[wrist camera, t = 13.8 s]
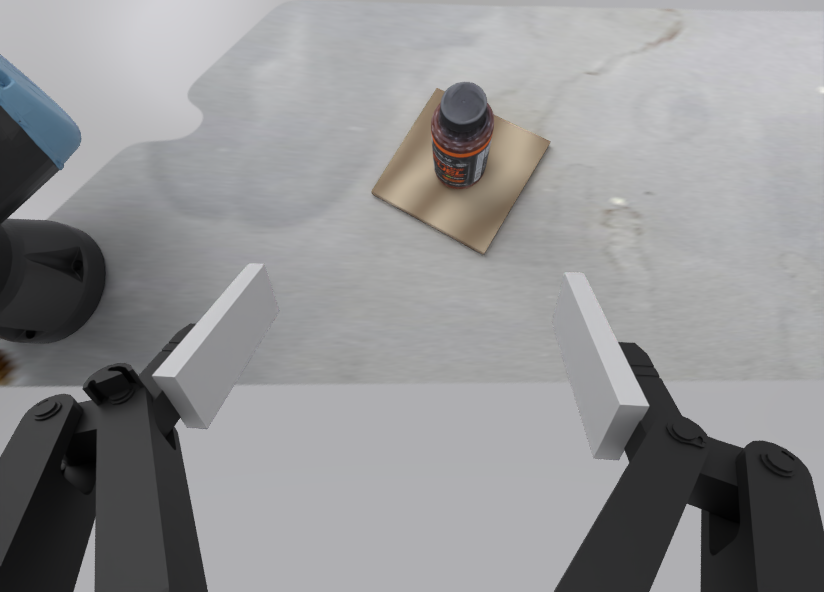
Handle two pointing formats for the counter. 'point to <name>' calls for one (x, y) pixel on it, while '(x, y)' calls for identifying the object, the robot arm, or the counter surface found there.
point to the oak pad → (460, 208)
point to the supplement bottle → (461, 135)
